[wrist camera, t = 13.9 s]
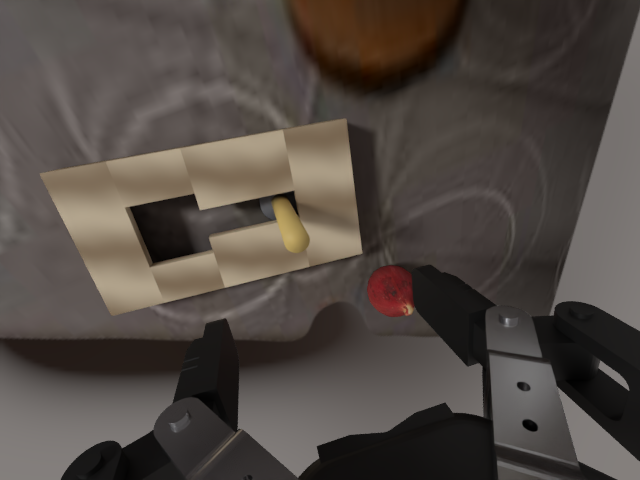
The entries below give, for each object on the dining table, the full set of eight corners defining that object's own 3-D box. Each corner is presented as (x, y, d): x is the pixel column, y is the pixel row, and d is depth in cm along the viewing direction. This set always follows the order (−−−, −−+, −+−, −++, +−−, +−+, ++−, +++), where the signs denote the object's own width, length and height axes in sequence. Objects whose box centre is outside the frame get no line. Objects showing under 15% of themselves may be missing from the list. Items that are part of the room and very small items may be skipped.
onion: (350, 274, 38) (374, 309, 31) (387, 246, 38) (420, 275, 31) (372, 304, 41) (400, 343, 33) (408, 278, 40) (443, 311, 33)
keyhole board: (62, 168, 28) (39, 173, 25) (336, 119, 32) (346, 118, 28) (124, 298, 33) (111, 315, 30) (352, 242, 37) (362, 253, 34)
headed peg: (255, 184, 32) (259, 219, 20) (294, 177, 33) (321, 205, 21) (264, 222, 34) (273, 274, 22) (301, 214, 34) (330, 260, 22)
